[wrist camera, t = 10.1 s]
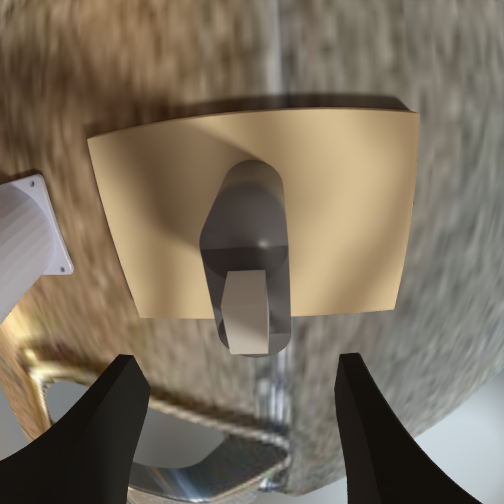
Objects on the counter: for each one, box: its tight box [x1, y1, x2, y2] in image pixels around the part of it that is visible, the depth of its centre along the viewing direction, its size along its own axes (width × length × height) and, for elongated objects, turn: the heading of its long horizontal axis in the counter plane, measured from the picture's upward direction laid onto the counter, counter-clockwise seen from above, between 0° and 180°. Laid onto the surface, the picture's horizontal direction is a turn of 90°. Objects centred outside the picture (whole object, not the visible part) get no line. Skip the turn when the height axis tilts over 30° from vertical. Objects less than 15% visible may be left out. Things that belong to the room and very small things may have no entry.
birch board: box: [87, 107, 420, 318], centre depth 18 cm, size 18×13×1 cm
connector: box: [199, 160, 291, 358], centre depth 14 cm, size 3×8×8 cm, turn 6°
